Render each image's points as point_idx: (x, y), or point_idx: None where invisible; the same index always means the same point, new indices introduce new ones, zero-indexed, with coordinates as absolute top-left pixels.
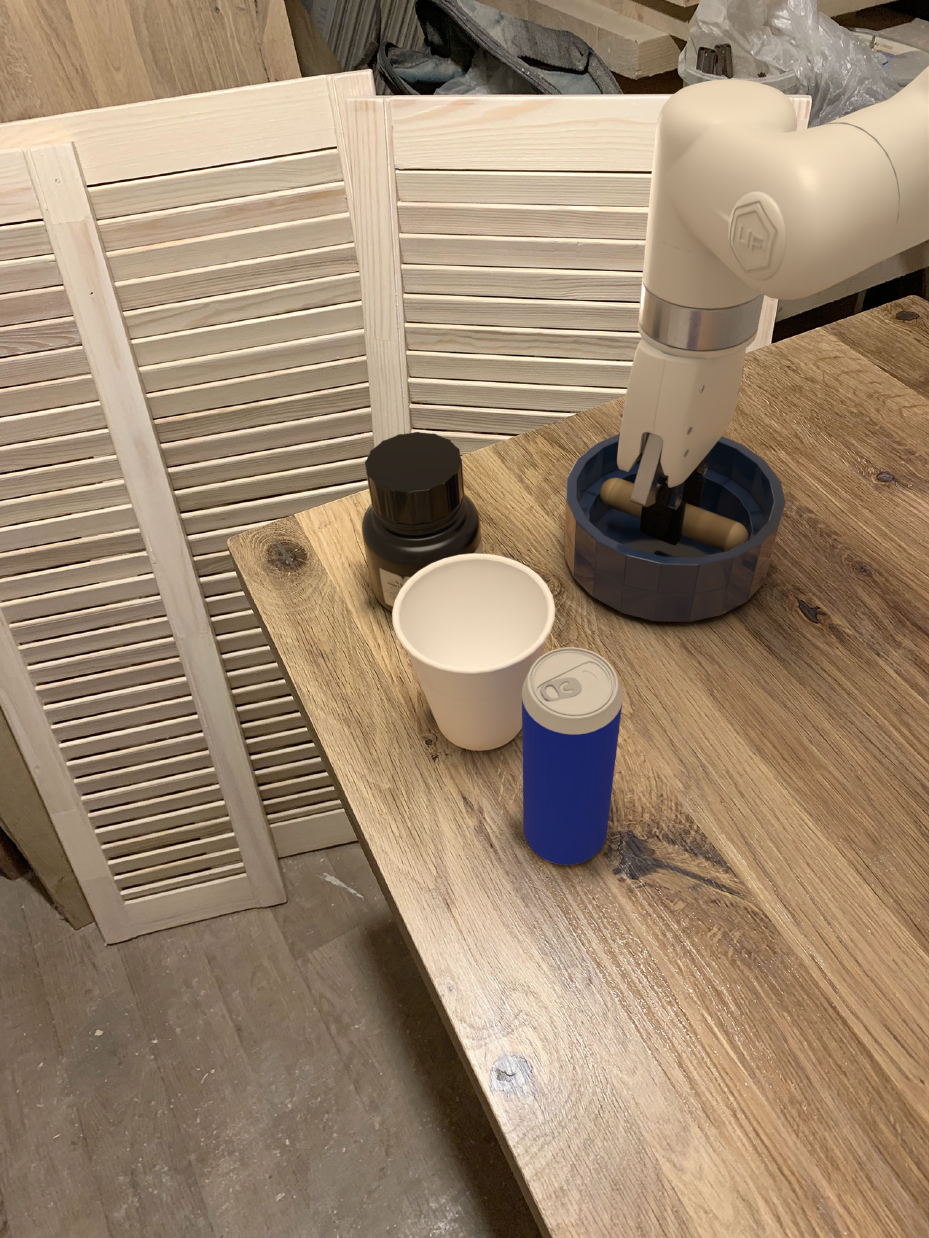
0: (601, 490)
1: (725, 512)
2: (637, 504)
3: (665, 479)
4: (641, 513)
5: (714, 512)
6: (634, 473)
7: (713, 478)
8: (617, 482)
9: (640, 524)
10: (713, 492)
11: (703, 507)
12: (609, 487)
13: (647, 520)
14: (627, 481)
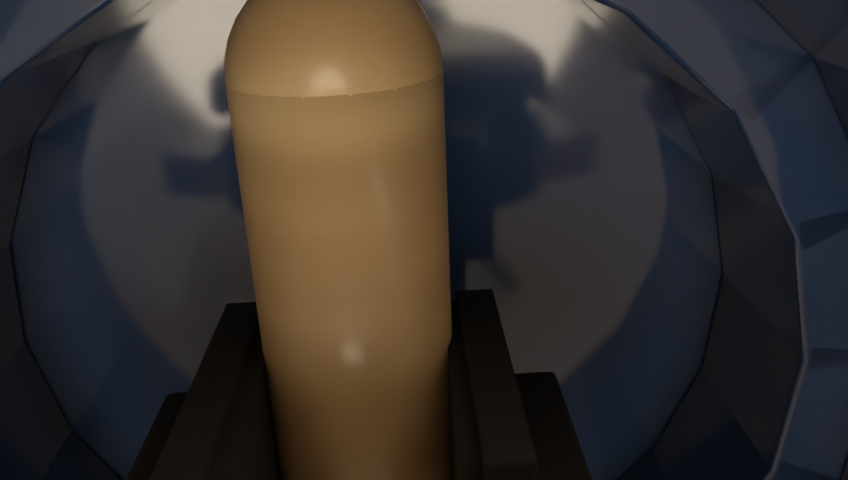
0: (252, 2)
1: (689, 427)
2: (262, 302)
3: (458, 449)
4: (200, 365)
5: (698, 359)
6: (646, 33)
7: (802, 422)
8: (322, 111)
9: (219, 322)
10: (750, 395)
11: (710, 309)
12: (260, 73)
13: (147, 440)
14: (391, 157)
